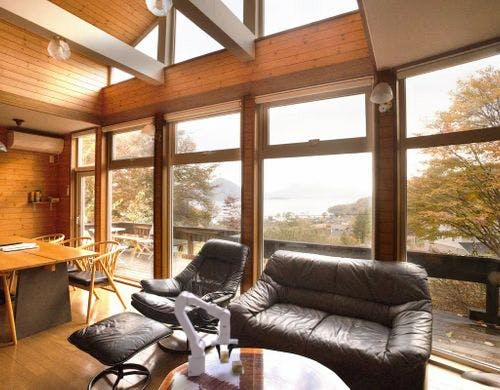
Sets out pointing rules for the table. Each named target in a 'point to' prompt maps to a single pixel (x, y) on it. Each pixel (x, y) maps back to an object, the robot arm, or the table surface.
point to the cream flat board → (237, 373)
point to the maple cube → (224, 357)
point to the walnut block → (237, 366)
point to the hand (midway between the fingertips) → (224, 357)
